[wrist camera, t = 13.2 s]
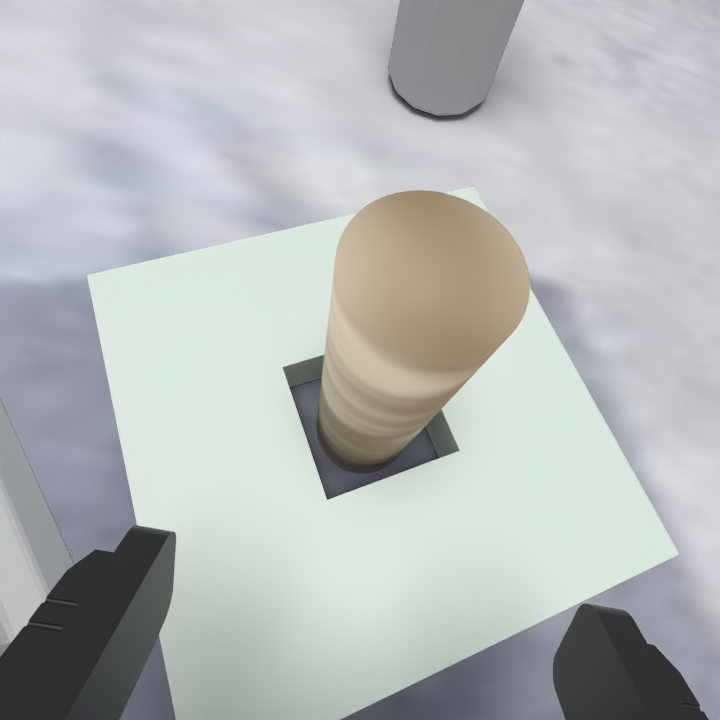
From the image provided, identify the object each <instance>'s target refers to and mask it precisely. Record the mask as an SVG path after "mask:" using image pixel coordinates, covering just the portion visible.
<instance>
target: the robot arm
mask: <svg viewBox="0 0 720 720" xmlns="http://www.w3.org/2000/svg"><path fill="white" fill-rule="evenodd" d="M175 551H176V533H175V532H173V531H167V530H161V529H155V528H150V527H144V526H138V525H135V526H133V527H132V528H131V529H130V530H129V531H128V533H127V534H126V535H125V537H124V538H123V540H122V541H121V543H120V544H119V546H118V547H117V549H116V550H115V552H114V553H113V552H107V551H101V550H94V551H93V552H92V553H90V554H89V555H87V556H86V557H85V558H83V559H82V560H80V561H79V562H78V563H76V564H75V565H73V566H72V567H71V568H69V569H68V570H67V571H66V572H65V573H64V575H63V576H62V577H61V579H60V580H59V581H58V582H57V584H56V585H55V586H54V588H53V589H52V590H51V592H50V593H49V594H48V595H47V597H46V600H45V602H44V603H43V602H42V603H41V605H40V606H39V607H38V609H37V610H36V611H35V612H34V614H33V615H32V616H31V618H30V619H29V622H28V624H27V626H24V627H23V628H22V629H21V631H20V632H19V633H18V635H17V636H16V637H15V638H14V640H13V641H12V642H11V644H10V645H9V646H8V648H7V649H6V650H5V651H4V653H3V654H2V655H1V657H0V720H119V719H120V717H121V715H122V713H123V710H124V708H125V706H126V704H127V702H128V700H129V697H130V695H131V693H132V691H133V689H134V687H135V685H136V682H137V680H138V678H139V676H140V674H141V672H142V669H143V667H144V665H145V663H146V661H147V659H148V656H149V654H150V652H151V650H152V648H153V646H154V644H155V641H156V639H157V637H158V635H159V633H160V631H161V628H162V626H163V624H164V621H165V619H166V616H167V613H168V610H169V607H170V603H171V599H172V593H173V583H174V567H175ZM553 679H554V685H555V690H556V693H557V696H558V699H559V702H560V705H561V707H562V710H563V713H564V716H565V719H566V720H708V718H707V716H706V715H705V713H704V712H702V711H700V708H699V707H700V705H699V703H698V701H697V700H696V698H695V696H694V695H693V693H692V692H691V690H690V688H689V687H688V685H687V683H686V682H685V680H684V678H683V677H682V675H681V673H680V672H679V671H678V670H677V669H676V668H675V667H674V666H673V665H672V664H671V663H670V662H669V661H668V660H667V658H666V657H665V656H664V655H663V654H662V653H661V652H660V651H659V650H658V649H657V648H656V647H655V646H654V645H651V644H647V642H646V640H645V639H644V637H643V635H642V634H641V632H640V630H639V628H638V627H637V625H636V623H635V621H634V620H633V618H632V617H631V616H630V614H629V613H627V612H626V611H624V610H621V609H615V608H609V607H603V606H597V605H591V604H583V605H581V606H580V607H579V609H578V610H577V612H576V614H575V616H574V618H573V620H572V622H571V624H570V626H569V628H568V630H567V632H566V634H565V636H564V638H563V640H562V642H561V644H560V646H559V648H558V650H557V652H556V654H555V658H554V663H553Z"/></svg>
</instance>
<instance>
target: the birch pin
mask: <svg viewBox="0 0 720 720" xmlns="http://www.w3.org/2000/svg"><path fill="white" fill-rule="evenodd" d="M529 294H530V278H529V273H528V267H527V264H526V261H525V259H524V256H523V254H522V252H521V250H520V248H519V246H518V244H517V243H516V241H515V240H514V238H513V237H512V235H511V234H510V233H509V232H508V231H507V229H506V228H505V227H504V226H503V225H502V224H501V223H500V222H499V221H498V220H497V219H495V218H494V217H493V216H492V215H490V214H489V213H488V212H486V211H485V210H483V209H481V208H480V207H478V206H477V205H475V204H473V203H471V202H469V201H466V200H464V199H461V198H459V197H456V196H453V195H449V194H445V193H440V192H434V191H406V192H400V193H395V194H392V195H388V196H385V197H383V198H380V199H378V200H376V201H374V202H372V203H371V204H369V205H367V206H366V207H364V208H363V209H362V210H361V211H359V212H358V213H357V214H356V215H355V216H354V217H353V218H352V219H351V220H350V222H349V223H348V225H347V226H346V228H345V229H344V231H343V233H342V235H341V237H340V240H339V243H338V246H337V249H336V256H335V264H334V273H333V282H332V291H331V300H330V309H329V318H328V327H327V336H326V345H325V354H324V363H323V372H322V381H321V390H320V399H319V408H318V417H317V437H318V440H319V443H320V446H321V448H322V450H323V451H324V453H325V454H326V456H327V457H328V458H329V459H330V460H331V461H332V462H333V463H335V464H336V465H337V466H339V467H341V468H343V469H345V470H348V471H351V472H357V473H368V472H373V471H377V470H379V469H382V468H384V467H385V466H387V465H388V464H390V463H391V462H392V461H393V460H394V459H395V458H396V457H397V456H398V455H399V454H400V453H401V451H402V450H403V449H404V448H405V447H406V446H407V445H408V444H409V443H410V442H411V441H412V440H413V439H414V438H415V437H416V436H417V434H418V433H419V432H420V431H421V430H422V429H423V428H424V427H425V426H426V425H427V424H428V423H429V422H430V421H431V420H432V418H433V417H434V416H435V415H436V414H437V413H438V412H439V411H440V410H441V409H442V408H443V407H444V406H445V405H446V404H447V402H448V401H449V400H450V399H451V398H452V397H453V396H454V395H455V394H456V393H457V392H458V391H459V390H460V389H461V388H462V387H463V385H464V384H465V383H466V382H467V381H468V380H469V379H470V378H471V377H472V376H473V375H474V374H475V373H476V372H477V371H478V369H479V368H480V367H481V366H482V365H483V364H484V363H485V362H486V361H487V360H488V359H489V358H490V357H491V356H492V355H493V353H494V352H495V351H496V350H497V349H498V348H499V347H500V346H501V345H502V344H503V343H504V342H505V341H506V340H507V339H508V337H509V336H510V335H511V334H512V333H513V332H514V331H515V330H516V328H517V327H518V325H519V324H520V322H521V321H522V319H523V316H524V314H525V312H526V309H527V305H528V302H529Z"/></svg>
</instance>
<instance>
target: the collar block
mask: <svg viewBox="0 0 720 720" xmlns="http://www.w3.org/2000/svg"><path fill="white" fill-rule="evenodd" d="M445 194H449V195H453V196H456V197H459V198H461V199H464V200H466V201H469V202H471V203H473V204H475V205H477V206H478V207H480V208H481V209H483V210H485V211H486V212H488V211H487V210H486V208H485V206H484V204H483V203H482V201H481V199H480V197H479V195H478V194H477V192H476V190H475V188H474V186H473V187H469V188H464V189H460V190H456V191H451V192H447V193H445ZM356 214H357V213H355V214H351V215H347V216H342V217H338V218H334V219H329V220H325V221H320V222H316V223H312V224H307V225H303V226H299V227H294V228H290V229H286V230H281V231H277V232H273V233H268V234H264V235H259V236H255V237H251V238H246V239H242V240H238V241H233V242H229V243H225V244H220V245H216V246H212V247H207V248H203V249H198V250H194V251H190V252H185V253H181V254H177V255H172V256H168V257H164V258H159V259H155V260H150V261H146V262H142V263H137V264H133V265H129V266H124V267H120V268H116V269H111V270H107V271H103V272H98V273H94V274H89V275H87V277H88V282H89V287H90V292H91V297H92V302H93V307H94V312H95V317H96V322H97V327H98V332H99V337H100V342H101V347H102V352H103V357H104V362H105V367H106V372H107V377H108V382H109V387H110V392H111V397H112V402H113V407H114V412H115V417H116V422H117V427H118V432H119V437H120V442H121V447H122V452H123V457H124V462H125V467H126V472H127V477H128V482H129V487H130V492H131V497H132V502H133V507H134V512H135V517H136V522H137V525H138V526H144V527H150V528H155V529H161V530H167V531H173V532H175V533H176V551H175V567H174V583H173V593H172V599H171V603H170V607H169V610H168V613H167V616H166V619H165V621H164V624H163V626H162V628H161V631H160V633H159V637H160V642H161V647H162V652H163V657H164V662H165V667H166V672H167V677H168V682H169V687H170V692H171V697H172V702H173V707H174V712H175V717H176V720H340V719H342V718H345V717H347V716H349V715H351V714H353V713H355V712H357V711H359V710H361V709H363V708H365V707H367V706H369V705H371V704H373V703H375V702H377V701H379V700H381V699H383V698H385V697H388V696H390V695H392V694H394V693H396V692H398V691H400V690H402V689H404V688H406V687H408V686H410V685H412V684H414V683H416V682H418V681H420V680H422V679H424V678H426V677H429V676H431V675H433V674H435V673H437V672H439V671H441V670H443V669H445V668H447V667H449V666H451V665H453V664H455V663H457V662H459V661H461V660H463V659H465V658H467V657H469V656H472V655H474V654H476V653H478V652H480V651H482V650H484V649H486V648H488V647H490V646H492V645H494V644H496V643H498V642H500V641H502V640H504V639H506V638H508V637H510V636H512V635H515V634H517V633H519V632H521V631H523V630H525V629H527V628H529V627H531V626H533V625H535V624H537V623H539V622H541V621H543V620H545V619H547V618H549V617H551V616H553V615H556V614H558V613H560V612H562V611H564V610H566V609H568V608H570V607H572V606H574V605H576V604H578V603H580V602H582V601H584V600H586V599H588V598H590V597H592V596H594V595H596V594H599V593H601V592H603V591H605V590H607V589H609V588H611V587H613V586H615V585H617V584H619V583H621V582H623V581H625V580H627V579H629V578H631V577H633V576H635V575H637V574H640V573H642V572H644V571H646V570H648V569H650V568H652V567H654V566H656V565H658V564H660V563H662V562H664V561H666V560H668V559H670V558H672V557H674V556H676V555H678V554H679V552H678V551H677V549H676V547H675V545H674V543H673V542H672V540H671V538H670V536H669V535H668V533H667V531H666V529H665V527H664V526H663V524H662V522H661V520H660V518H659V517H658V515H657V513H656V511H655V510H654V508H653V506H652V504H651V502H650V501H649V499H648V497H647V495H646V493H645V492H644V490H643V488H642V486H641V485H640V483H639V481H638V479H637V477H636V476H635V474H634V472H633V470H632V469H631V467H630V465H629V463H628V461H627V460H626V458H625V456H624V454H623V452H622V451H621V449H620V447H619V445H618V444H617V442H616V440H615V438H614V436H613V435H612V433H611V431H610V429H609V427H608V426H607V424H606V422H605V420H604V419H603V417H602V415H601V413H600V411H599V410H598V408H597V406H596V404H595V402H594V401H593V399H592V397H591V395H590V394H589V392H588V390H587V388H586V386H585V385H584V383H583V381H582V379H581V377H580V376H579V374H578V372H577V370H576V369H575V367H574V365H573V363H572V361H571V360H570V358H569V356H568V354H567V352H566V351H565V349H564V347H563V345H562V344H561V342H560V340H559V338H558V336H557V335H556V333H555V331H554V329H553V327H552V326H551V324H550V322H549V320H548V319H547V317H546V315H545V313H544V311H543V310H542V308H541V306H540V304H539V302H538V301H537V299H536V297H535V295H534V294H533V292H532V290H531V288H530V294H529V302H528V305H527V309H526V312H525V314H524V316H523V319H522V321H521V322H520V324H519V325H518V327H517V328H516V330H515V331H514V332H513V333H512V334H511V335H510V336H509V337H508V339H507V340H506V341H505V342H504V343H503V344H502V345H501V346H500V347H499V348H498V349H497V350H496V351H495V352H494V353H493V355H492V356H491V357H490V358H489V359H488V360H487V361H486V362H485V363H484V364H483V365H482V366H481V367H480V368H479V369H478V371H477V372H476V373H475V374H474V375H473V376H472V377H471V378H470V379H469V380H468V381H467V382H466V383H465V384H464V385H463V387H462V388H461V389H460V390H459V391H458V392H457V393H456V394H455V395H454V396H453V397H452V398H451V399H450V400H449V401H448V402H447V404H446V405H445V406H444V407H443V408H442V409H441V410H440V411H439V412H438V413H437V414H436V415H435V416H434V417H433V418H432V420H431V421H430V422H429V423H428V424H427V425H426V426H425V427H426V429H427V431H428V434H429V436H430V438H431V441H432V443H433V446H434V448H435V450H436V453H437V455H438V457H439V459H436V460H433V461H431V462H428V463H425V464H422V465H420V466H417V467H414V468H412V469H409V470H406V471H404V472H401V473H398V474H396V475H393V476H390V477H388V478H385V479H382V480H380V481H377V482H374V483H371V484H369V485H366V486H363V487H361V488H358V489H355V490H353V491H350V492H347V493H345V494H342V495H339V496H337V497H334V498H331V499H329V500H327V498H326V495H325V492H324V489H323V486H322V483H321V480H320V477H319V474H318V471H317V468H316V465H315V462H314V459H313V456H312V453H311V451H310V448H309V445H308V442H307V439H306V436H305V433H304V430H303V427H302V424H301V421H300V418H299V415H298V412H297V409H296V406H295V403H294V400H293V397H292V394H291V391H290V387H294V386H297V385H300V384H303V383H307V382H310V381H313V380H316V379H320V378H322V372H323V363H324V354H325V345H326V336H327V327H328V318H329V309H330V300H331V291H332V282H333V273H334V264H335V256H336V249H337V246H338V243H339V240H340V237H341V235H342V233H343V231H344V229H345V228H346V226H347V225H348V223H349V222H350V220H351V219H352V218H353V217H354V216H355V215H356Z"/></svg>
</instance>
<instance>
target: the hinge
mask: <svg viewBox="0 0 720 720" xmlns="http://www.w3.org/2000/svg"><path fill="white" fill-rule="evenodd" d="M73 565H74V564H73V561H72V559H71V557H70V555H69V552H68V550H67V548H66V546H65V543H64V541H63V539H62V537H61V534H60V532H59V530H58V528H57V525H56V523H55V521H54V519H53V516H52V514H51V512H50V510H49V507H48V505H47V503H46V501H45V499H44V496H43V494H42V492H41V490H40V487H39V485H38V483H37V481H36V478H35V476H34V474H33V472H32V469H31V467H30V465H29V463H28V460H27V458H26V456H25V454H24V451H23V449H22V447H21V445H20V442H19V440H18V438H17V436H16V433H15V431H14V429H13V427H12V424H11V422H10V420H9V418H8V416H7V413H6V411H5V409H4V407H3V404H2V402H1V400H0V657H1V655H2V654H3V653H4V651H5V650H6V649H7V648H8V646H9V645H10V644H11V642H12V641H13V640H14V638H15V637H16V636H17V635H18V633H19V632H20V631H21V629H22V628H23V627H24V626H27V624H28V622H29V619H30V618H31V616H32V615H33V614H34V612H35V611H36V610H37V609H38V607H39V606H40V605H41V603H42V602H43V603H44V602H45V600H46V597H47V595H48V594H49V593H50V592H51V590H52V589H53V588H54V586H55V585H56V584H57V582H58V581H59V580H60V579H61V577H62V576H63V575H64V573H65V572H66V571H67V570H68V569H69V568H71V567H72V566H73Z"/></svg>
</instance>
